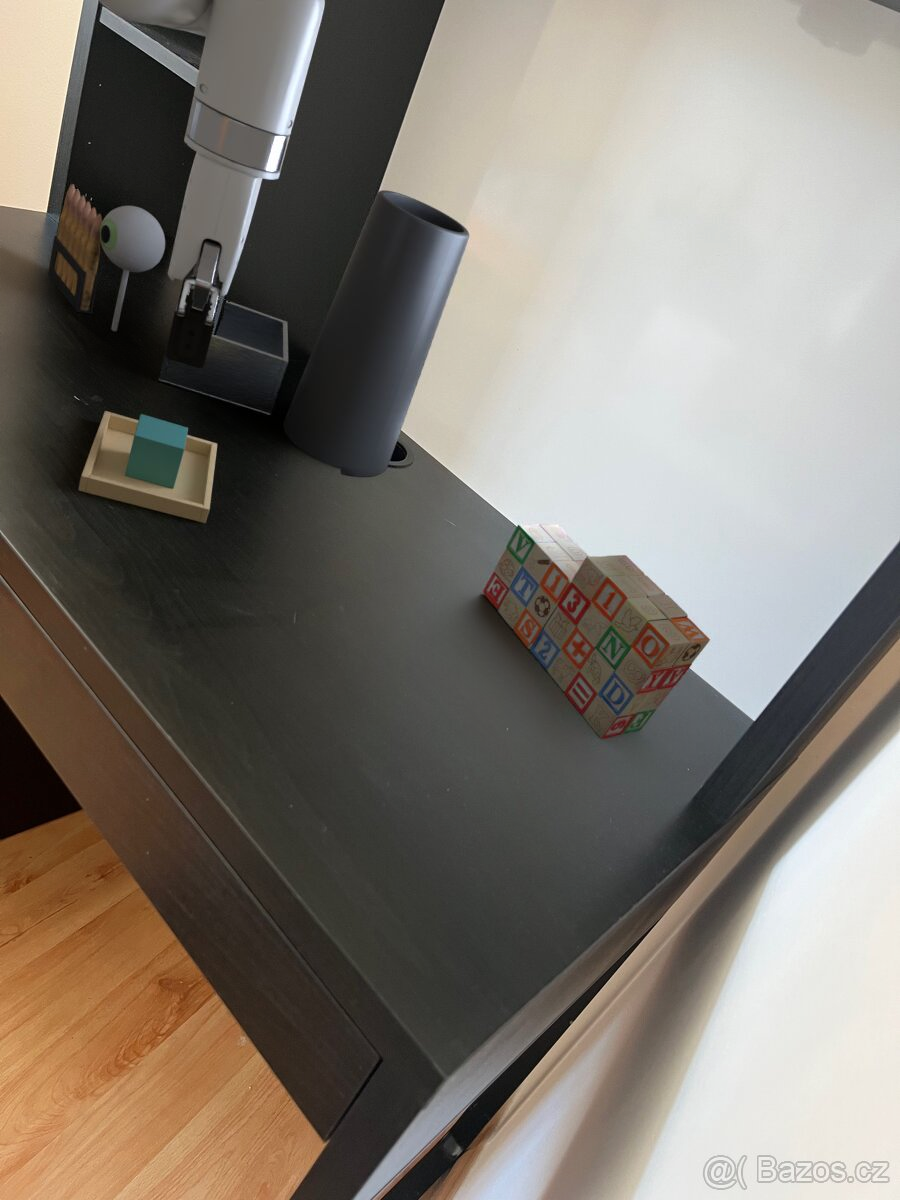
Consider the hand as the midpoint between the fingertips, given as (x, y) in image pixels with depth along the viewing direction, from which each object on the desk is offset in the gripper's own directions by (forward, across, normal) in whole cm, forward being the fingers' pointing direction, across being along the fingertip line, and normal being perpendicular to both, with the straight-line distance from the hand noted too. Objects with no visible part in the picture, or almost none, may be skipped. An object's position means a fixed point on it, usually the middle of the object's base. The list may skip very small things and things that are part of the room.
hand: (188, 341), depth 75 cm
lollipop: (+14, -32, -8) cm, 36 cm away
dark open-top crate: (+14, -27, +5) cm, 31 cm away
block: (+14, 0, 0) cm, 14 cm away
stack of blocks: (+15, +14, +42) cm, 46 cm away
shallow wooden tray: (+14, 0, 0) cm, 14 cm away
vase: (+15, -19, +20) cm, 31 cm away
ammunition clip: (+14, -39, -15) cm, 44 cm away
